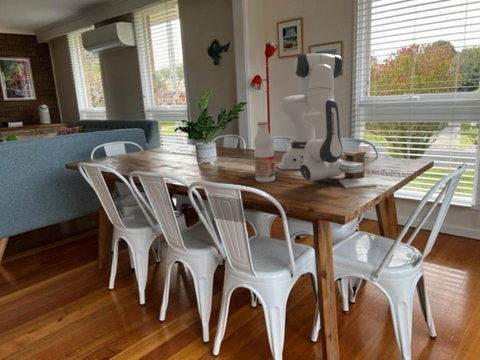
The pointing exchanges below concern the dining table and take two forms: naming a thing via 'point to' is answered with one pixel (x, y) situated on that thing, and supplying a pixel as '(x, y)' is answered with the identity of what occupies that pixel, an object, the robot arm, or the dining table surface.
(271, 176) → the fruit juice
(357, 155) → the stool
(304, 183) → the dining table surface
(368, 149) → the shot glass
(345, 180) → the mat
